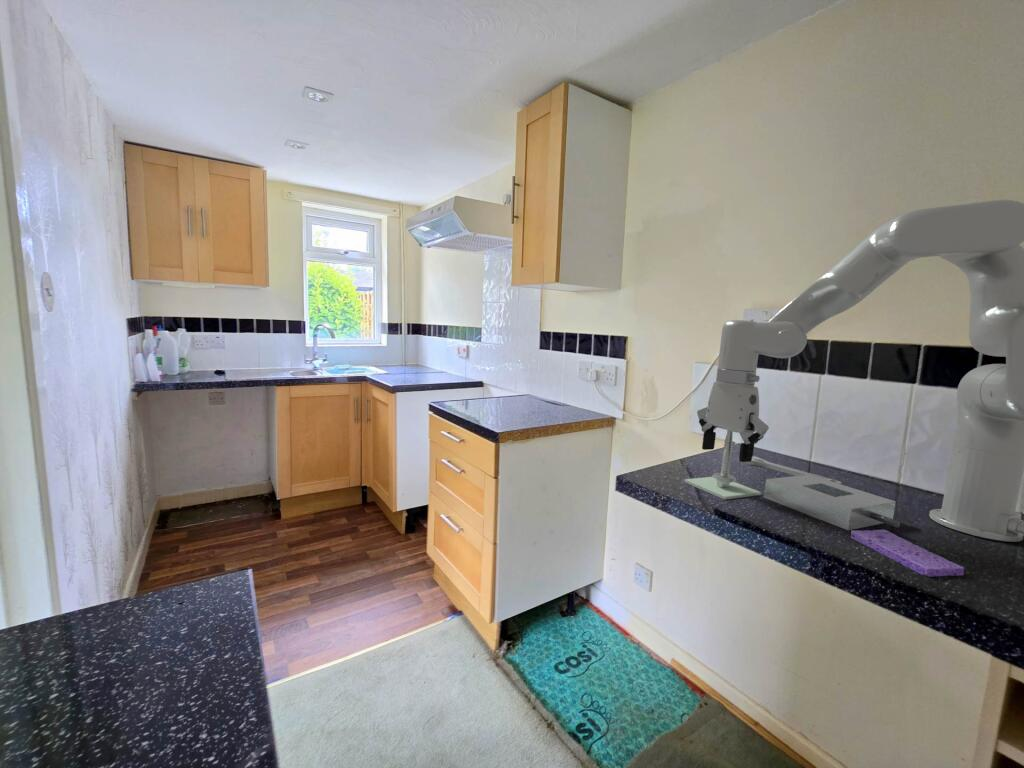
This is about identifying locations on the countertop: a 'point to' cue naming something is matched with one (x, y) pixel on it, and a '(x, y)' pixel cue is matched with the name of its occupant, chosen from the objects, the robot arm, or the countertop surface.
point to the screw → (725, 464)
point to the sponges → (907, 553)
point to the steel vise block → (831, 501)
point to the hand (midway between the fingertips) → (725, 455)
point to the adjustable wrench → (782, 468)
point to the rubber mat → (725, 493)
